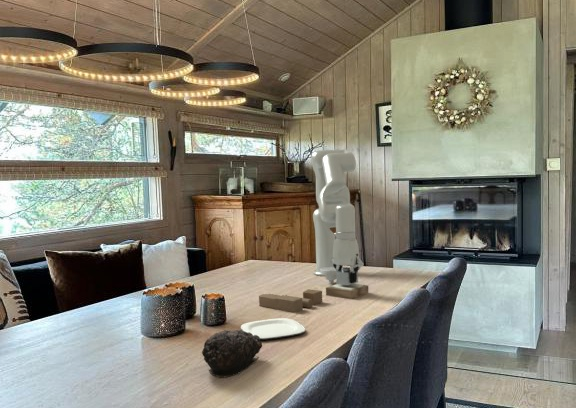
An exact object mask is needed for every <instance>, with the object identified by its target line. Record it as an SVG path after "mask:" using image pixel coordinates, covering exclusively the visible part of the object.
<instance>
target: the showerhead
mask: <svg viewBox="0 0 576 408" xmlns="http://www.w3.org/2000/svg"><path fill="white" fill-rule="evenodd" d="M320 272H321V273H323V274H326V276H325V280H327V281H328V284H329V285H334V284H335V280H336V281H337V276H336V269H335V268H334V267H325V268H321V269H320ZM333 283H334V284H333Z"/></svg>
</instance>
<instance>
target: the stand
mask: <svg viewBox="0 0 576 408" xmlns="http://www.w3.org/2000/svg"><path fill="white" fill-rule="evenodd" d="M367 294H369V285H367V284H364V283H355V284H352V285H349V286H348V285H340V284H337V283H336V284H332V285H329V286H327V287H325V295H326V296H329V297H335V298H336V297H337V298H341V299H342V298H343V299H349V300H353V299H356V298H359V297H362V296H364V295H365V296H366V295H367Z"/></svg>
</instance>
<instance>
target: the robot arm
mask: <svg viewBox="0 0 576 408" xmlns="http://www.w3.org/2000/svg"><path fill="white" fill-rule="evenodd" d="M310 157H311V159H310V161H311V167H312V169H313V171H314V172H313V173H314V174H315V199H316V203H317V205H318V208H316V209H315V210H314V211H313V214H312V219H313V220H312V221H313V227H314V233H315V235H314V236H315V264H316V265H315V267H316V269H314V270H313V271H312V272H313V275H315V276H323V277H326V274H323V273H321V272H320V269H321V268H325V267H334V268H335V269H336V271H340V270H341V268H342V267H345V266H346V267H349V268H350V269H351V271H352V273H351V283H355V282H356V280H357V272H358V273H359V270H360V269H362V268H363V266H364V262H363V261H362V260H361V258H360V250H359V249H360V248H359V243H358V240H357V239H356V209H355V206H354V205H353V204H352V203H351V194H350V193H351V192H350V190H349V187H348V186H347V185H346V184H347V181H346V180H347V179H346V176H345V173H348V172H349V173H352V172H354V171H355V169H356V168H357V160H356V157H355V155H354V153H352V152H351V151H350V150H348V149H320V150H319V149H318V150H316V151H313V153H312V154H311V156H310ZM331 228H332V229H333V228H335V232H333V231H332V230H331ZM355 284H356V283H355Z"/></svg>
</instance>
